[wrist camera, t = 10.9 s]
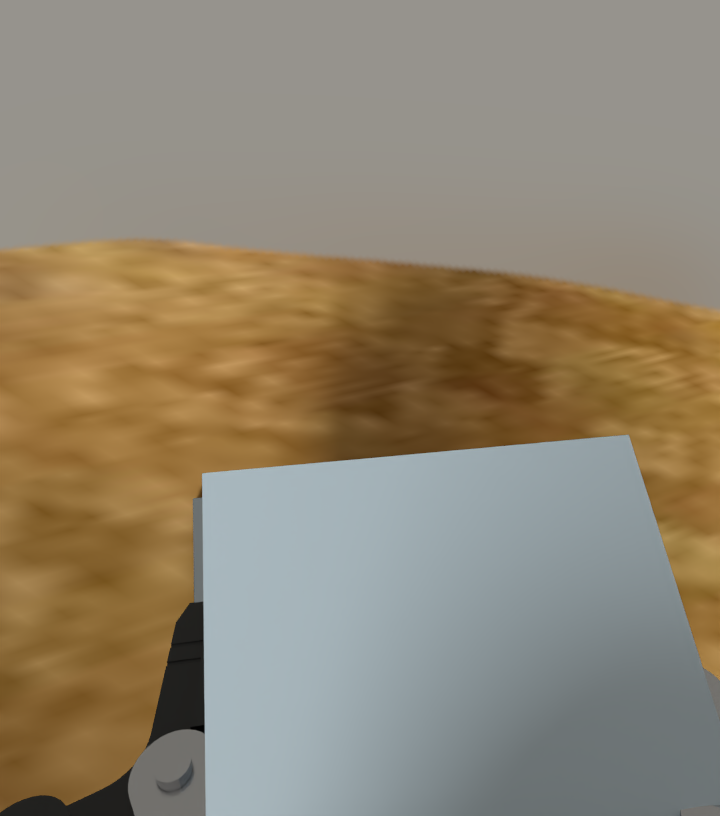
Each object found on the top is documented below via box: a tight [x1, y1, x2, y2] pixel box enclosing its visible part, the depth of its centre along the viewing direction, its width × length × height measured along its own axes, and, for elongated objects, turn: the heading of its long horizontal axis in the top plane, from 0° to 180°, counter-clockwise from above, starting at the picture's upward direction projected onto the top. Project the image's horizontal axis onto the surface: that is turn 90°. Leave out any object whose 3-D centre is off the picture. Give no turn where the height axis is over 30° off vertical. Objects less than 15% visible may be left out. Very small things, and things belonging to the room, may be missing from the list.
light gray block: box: [202, 435, 720, 816], centre depth 11 cm, size 6×6×10 cm
